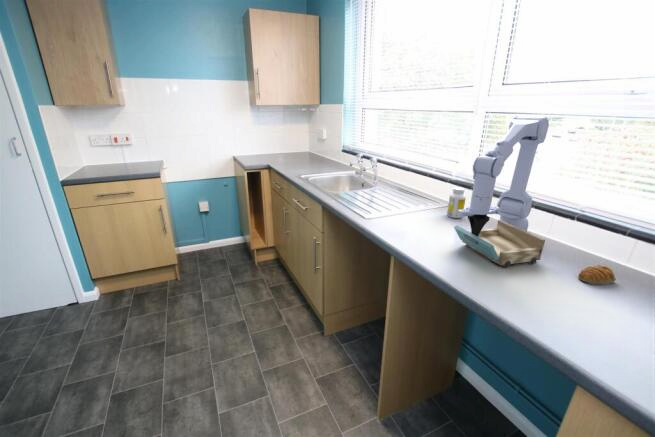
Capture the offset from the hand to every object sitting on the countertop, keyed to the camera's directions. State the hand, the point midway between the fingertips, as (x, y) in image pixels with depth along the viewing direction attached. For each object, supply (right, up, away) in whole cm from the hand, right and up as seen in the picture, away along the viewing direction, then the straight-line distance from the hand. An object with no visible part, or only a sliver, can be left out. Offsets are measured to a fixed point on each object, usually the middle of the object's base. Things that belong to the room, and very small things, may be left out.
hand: (474, 236), depth 101 cm
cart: (+10, -6, +5) cm, 13 cm away
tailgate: (+3, -4, +2) cm, 5 cm away
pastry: (+30, -12, -10) cm, 34 cm away
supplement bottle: (+10, +7, +41) cm, 43 cm away
